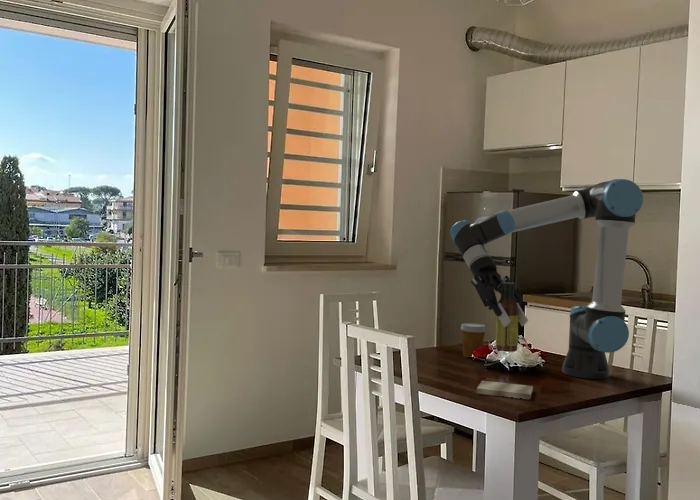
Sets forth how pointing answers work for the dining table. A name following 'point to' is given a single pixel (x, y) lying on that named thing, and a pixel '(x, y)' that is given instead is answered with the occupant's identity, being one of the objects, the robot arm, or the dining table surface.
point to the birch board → (505, 389)
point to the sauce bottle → (509, 334)
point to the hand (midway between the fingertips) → (516, 323)
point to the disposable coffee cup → (472, 337)
